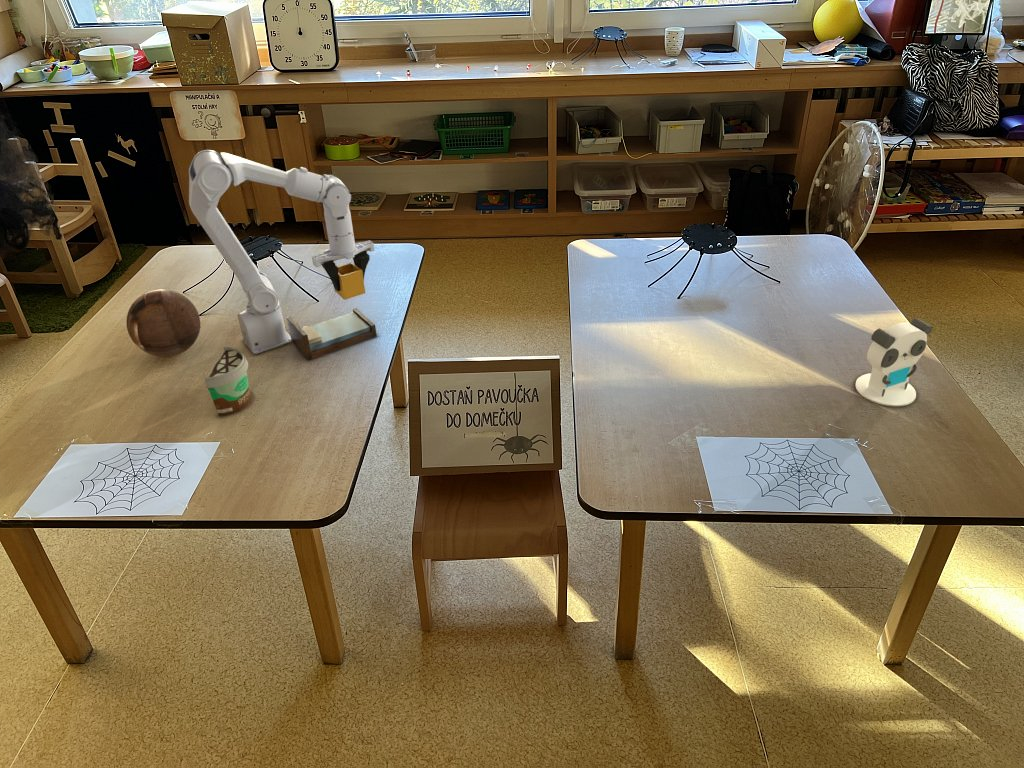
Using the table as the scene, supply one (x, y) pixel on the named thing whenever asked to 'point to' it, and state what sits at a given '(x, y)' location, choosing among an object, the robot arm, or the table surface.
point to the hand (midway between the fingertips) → (348, 285)
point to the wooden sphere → (163, 323)
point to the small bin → (350, 281)
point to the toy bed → (331, 334)
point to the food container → (229, 383)
